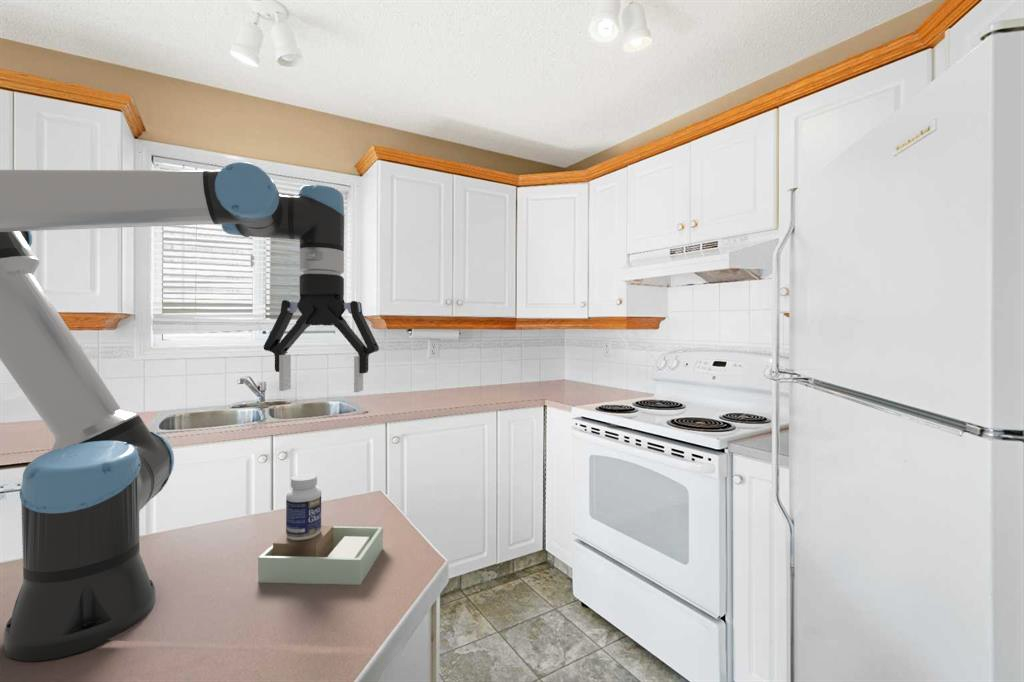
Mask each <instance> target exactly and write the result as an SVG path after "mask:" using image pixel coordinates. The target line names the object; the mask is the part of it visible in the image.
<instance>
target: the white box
mask: <svg viewBox="0 0 1024 682" xmlns="http://www.w3.org/2000/svg"><path fill="white" fill-rule="evenodd" d="M368 543H369V537H355V536H344V538H343V539H342V540H341V541H340V542H339V543H338V545H337V546H336V547H335V548H334V549H333V551H332V552H331V553H330V554H329V555H328V557H341V558H358V557H359V556H360V554H361V553H362V551H363V550H364V549H365V547H366V546H367V544H368Z"/></svg>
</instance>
